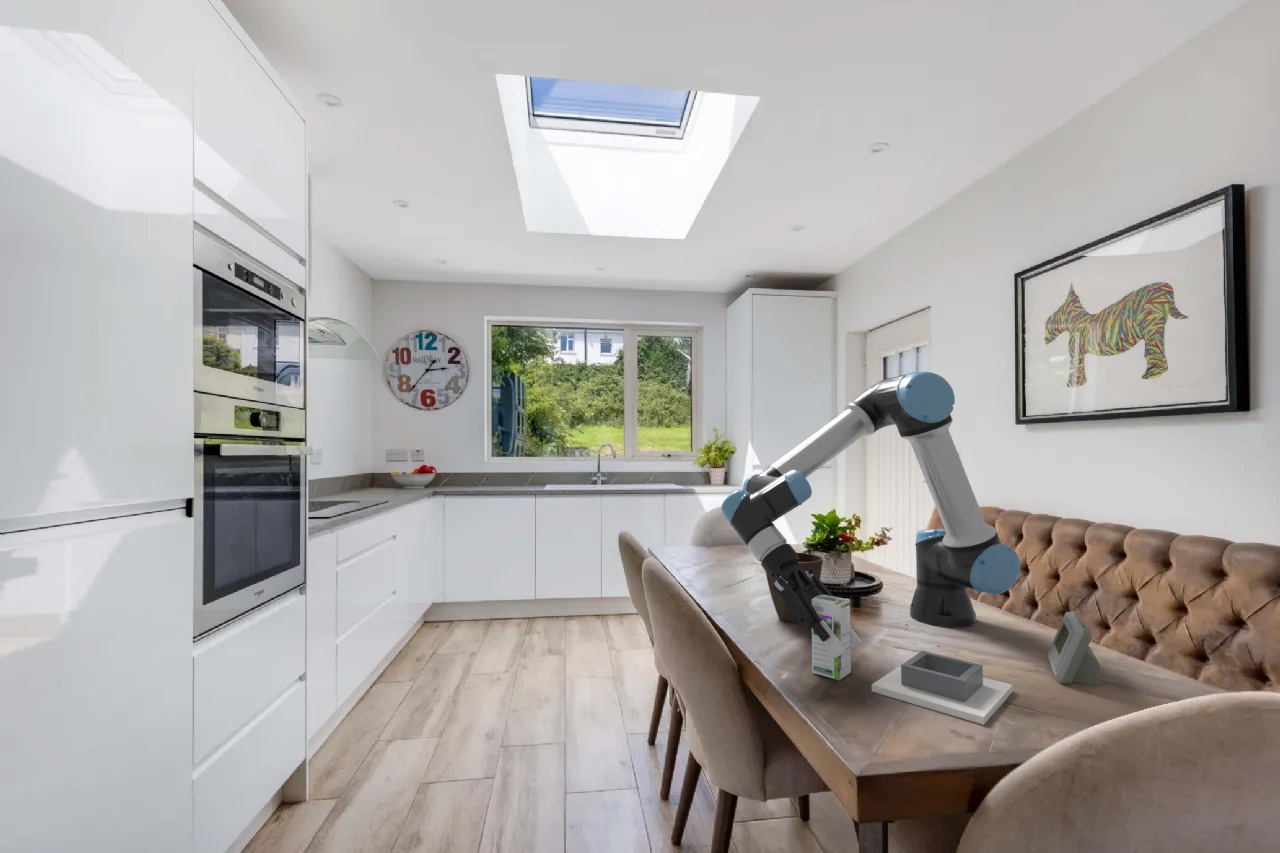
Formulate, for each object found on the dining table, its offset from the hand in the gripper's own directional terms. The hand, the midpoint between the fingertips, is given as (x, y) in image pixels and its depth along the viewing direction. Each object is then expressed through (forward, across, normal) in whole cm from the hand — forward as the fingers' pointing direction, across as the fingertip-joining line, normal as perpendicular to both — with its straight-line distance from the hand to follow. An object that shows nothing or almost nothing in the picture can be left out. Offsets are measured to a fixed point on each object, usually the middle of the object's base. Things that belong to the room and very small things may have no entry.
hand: (848, 649), depth 111 cm
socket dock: (+14, -6, +6) cm, 17 cm away
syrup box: (+1, 0, -6) cm, 7 cm away
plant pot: (-16, -27, -24) cm, 39 cm away
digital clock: (+25, -33, +16) cm, 44 cm away
